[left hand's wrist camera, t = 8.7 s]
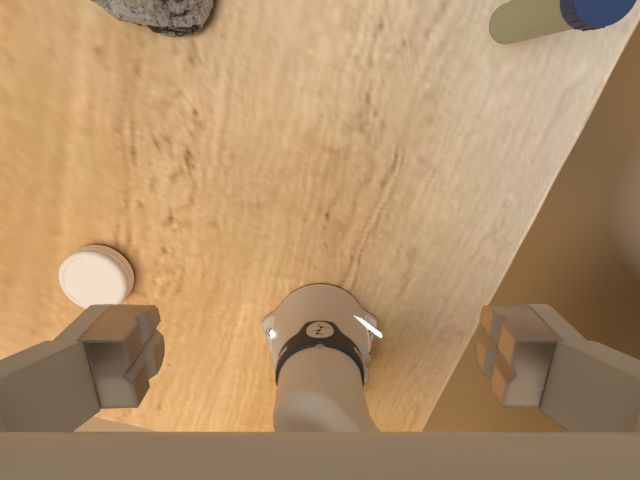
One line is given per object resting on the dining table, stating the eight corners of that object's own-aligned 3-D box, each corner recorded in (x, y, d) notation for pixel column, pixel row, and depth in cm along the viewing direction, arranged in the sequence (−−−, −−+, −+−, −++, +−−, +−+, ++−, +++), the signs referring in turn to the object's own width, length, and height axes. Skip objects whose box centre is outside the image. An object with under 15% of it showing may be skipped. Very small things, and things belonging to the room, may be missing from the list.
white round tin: (57, 262, 62) (42, 272, 59) (105, 232, 60) (93, 240, 57) (100, 311, 65) (89, 322, 62) (148, 283, 63) (139, 294, 60)
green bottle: (503, -5, 49) (602, -54, 32) (533, 15, 50) (645, -23, 33) (481, 32, 51) (564, 4, 33) (510, 50, 51) (606, 33, 34)
